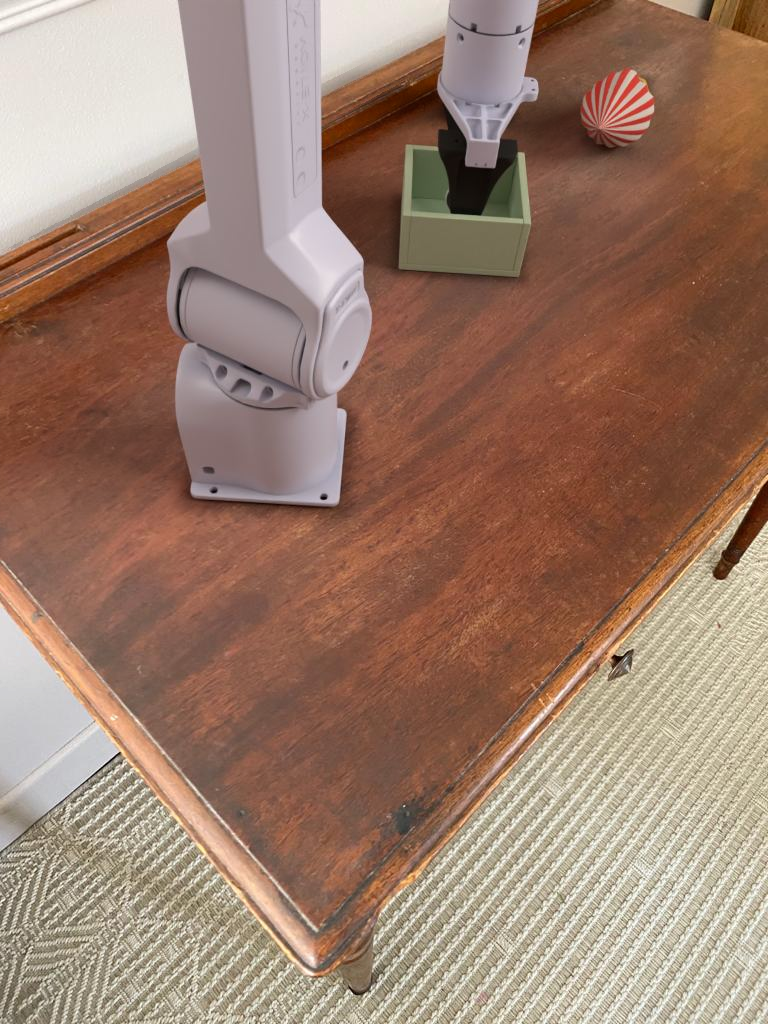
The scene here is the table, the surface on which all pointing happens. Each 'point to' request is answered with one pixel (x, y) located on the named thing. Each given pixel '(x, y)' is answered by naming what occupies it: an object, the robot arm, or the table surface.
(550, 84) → the table surface
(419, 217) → the bin
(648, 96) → the striped christmas ornament
